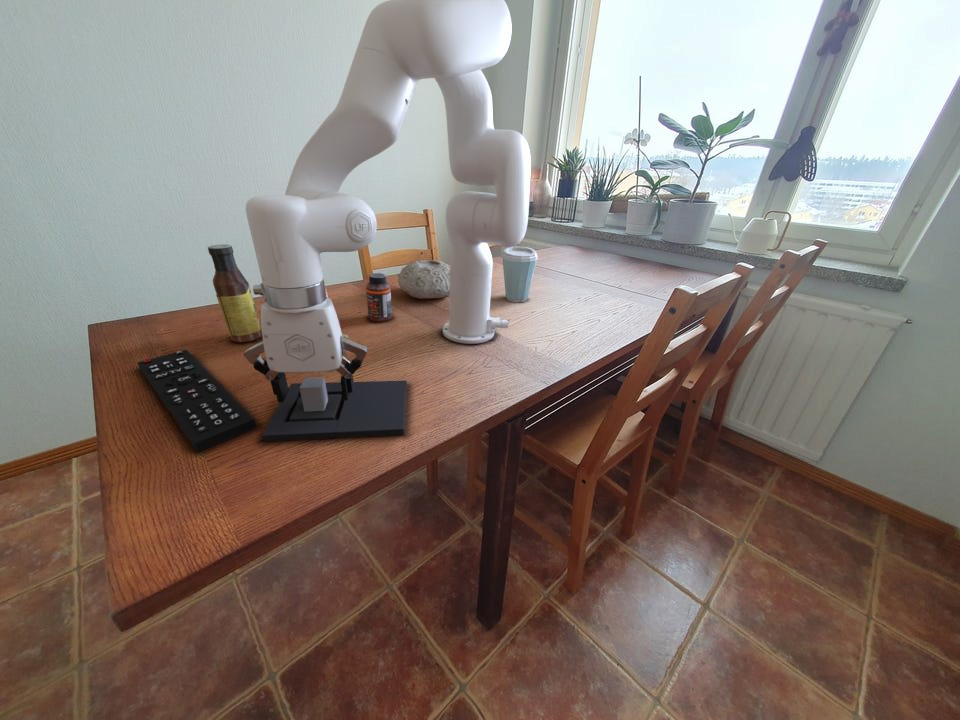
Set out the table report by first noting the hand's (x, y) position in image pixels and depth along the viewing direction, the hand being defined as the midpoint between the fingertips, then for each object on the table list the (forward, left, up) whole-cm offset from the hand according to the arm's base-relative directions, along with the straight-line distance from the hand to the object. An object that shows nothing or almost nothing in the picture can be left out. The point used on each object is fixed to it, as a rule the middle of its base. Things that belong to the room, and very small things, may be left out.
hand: (316, 396), depth 59 cm
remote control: (+22, -6, -3) cm, 23 cm away
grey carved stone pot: (-19, -58, -3) cm, 61 cm away
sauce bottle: (+22, -29, -3) cm, 36 cm away
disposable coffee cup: (-45, -55, -3) cm, 72 cm away
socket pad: (-4, 0, -3) cm, 5 cm away
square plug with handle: (0, 0, -3) cm, 3 cm away
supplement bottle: (-6, -40, -3) cm, 40 cm away
